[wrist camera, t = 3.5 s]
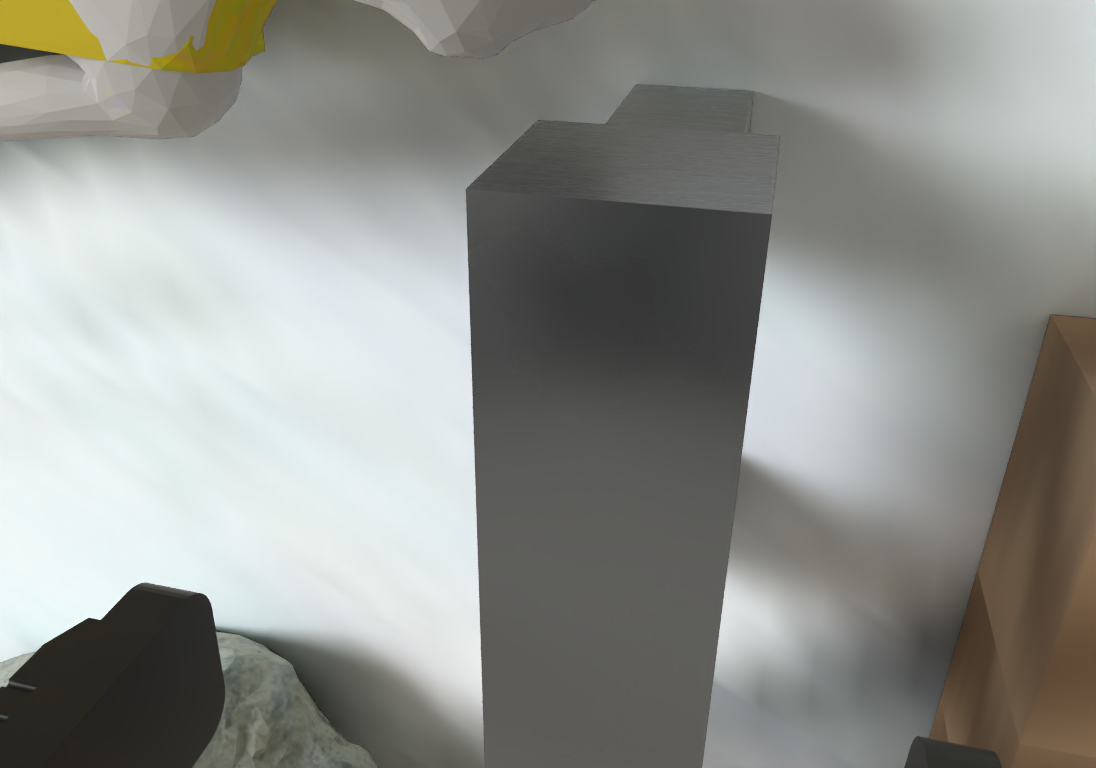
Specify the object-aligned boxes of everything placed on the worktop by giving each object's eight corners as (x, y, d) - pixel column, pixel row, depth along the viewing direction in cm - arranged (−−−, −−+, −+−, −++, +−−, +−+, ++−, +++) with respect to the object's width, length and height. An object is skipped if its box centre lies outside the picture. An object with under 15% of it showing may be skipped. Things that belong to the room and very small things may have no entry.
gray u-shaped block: (608, 52, 16) (465, 188, 10) (787, 61, 16) (772, 214, 9) (591, 523, 21) (487, 838, 14) (727, 544, 21) (687, 883, 14)
